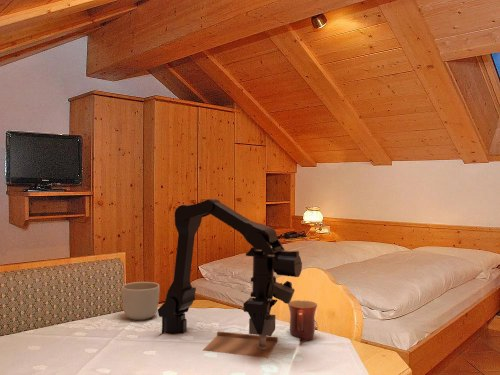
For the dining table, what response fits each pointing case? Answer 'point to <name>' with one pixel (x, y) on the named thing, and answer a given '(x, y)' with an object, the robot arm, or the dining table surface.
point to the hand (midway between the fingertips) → (262, 330)
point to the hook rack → (242, 344)
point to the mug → (302, 319)
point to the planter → (140, 300)
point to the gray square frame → (264, 326)
